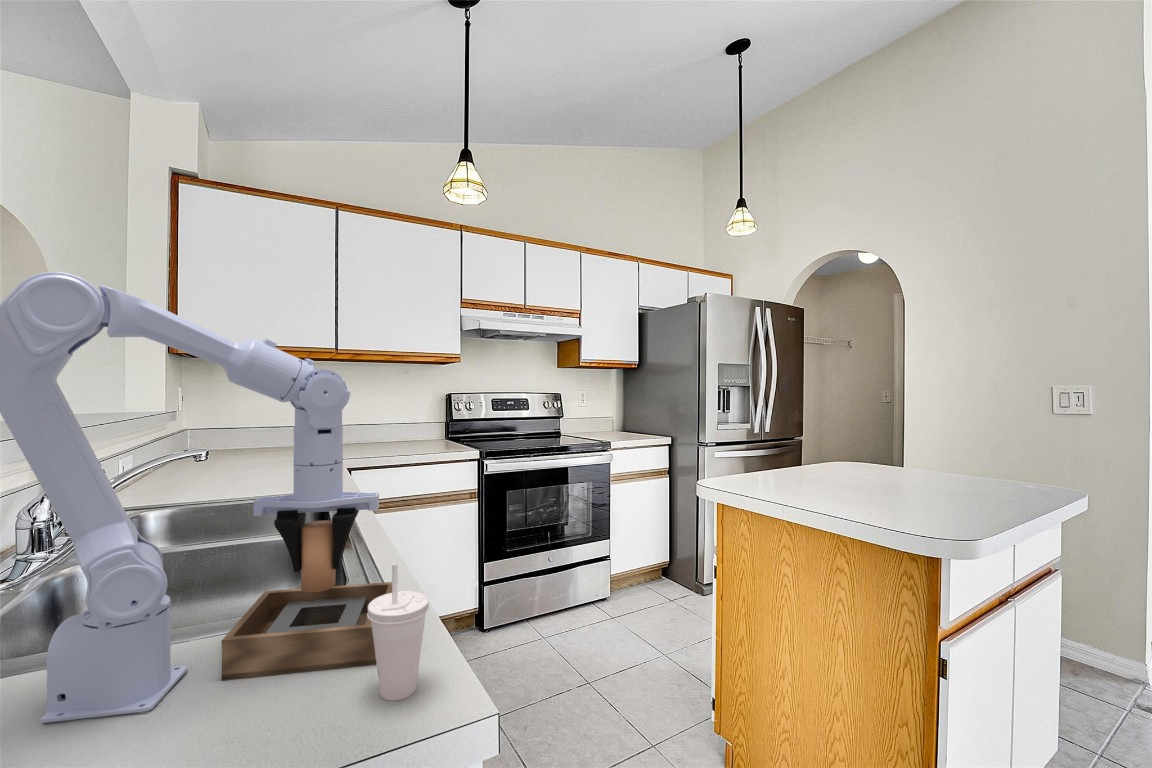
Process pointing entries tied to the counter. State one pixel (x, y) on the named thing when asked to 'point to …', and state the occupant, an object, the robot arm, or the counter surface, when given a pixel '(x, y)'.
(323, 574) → the peg
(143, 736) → the counter surface
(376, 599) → the smoothie
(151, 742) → the counter surface
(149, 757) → the counter surface
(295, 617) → the socket plate
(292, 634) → the socket box
